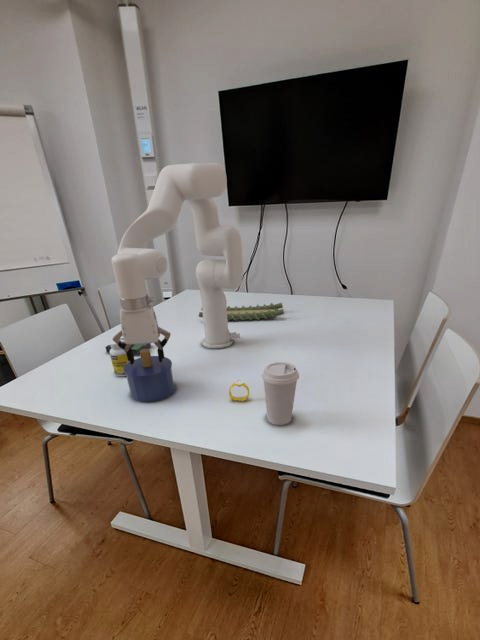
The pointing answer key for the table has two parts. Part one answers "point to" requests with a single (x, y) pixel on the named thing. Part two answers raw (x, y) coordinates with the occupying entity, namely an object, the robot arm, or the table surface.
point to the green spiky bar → (253, 312)
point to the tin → (151, 387)
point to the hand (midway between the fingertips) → (146, 361)
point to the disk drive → (133, 347)
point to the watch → (238, 383)
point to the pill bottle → (118, 358)
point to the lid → (147, 365)
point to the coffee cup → (280, 391)
